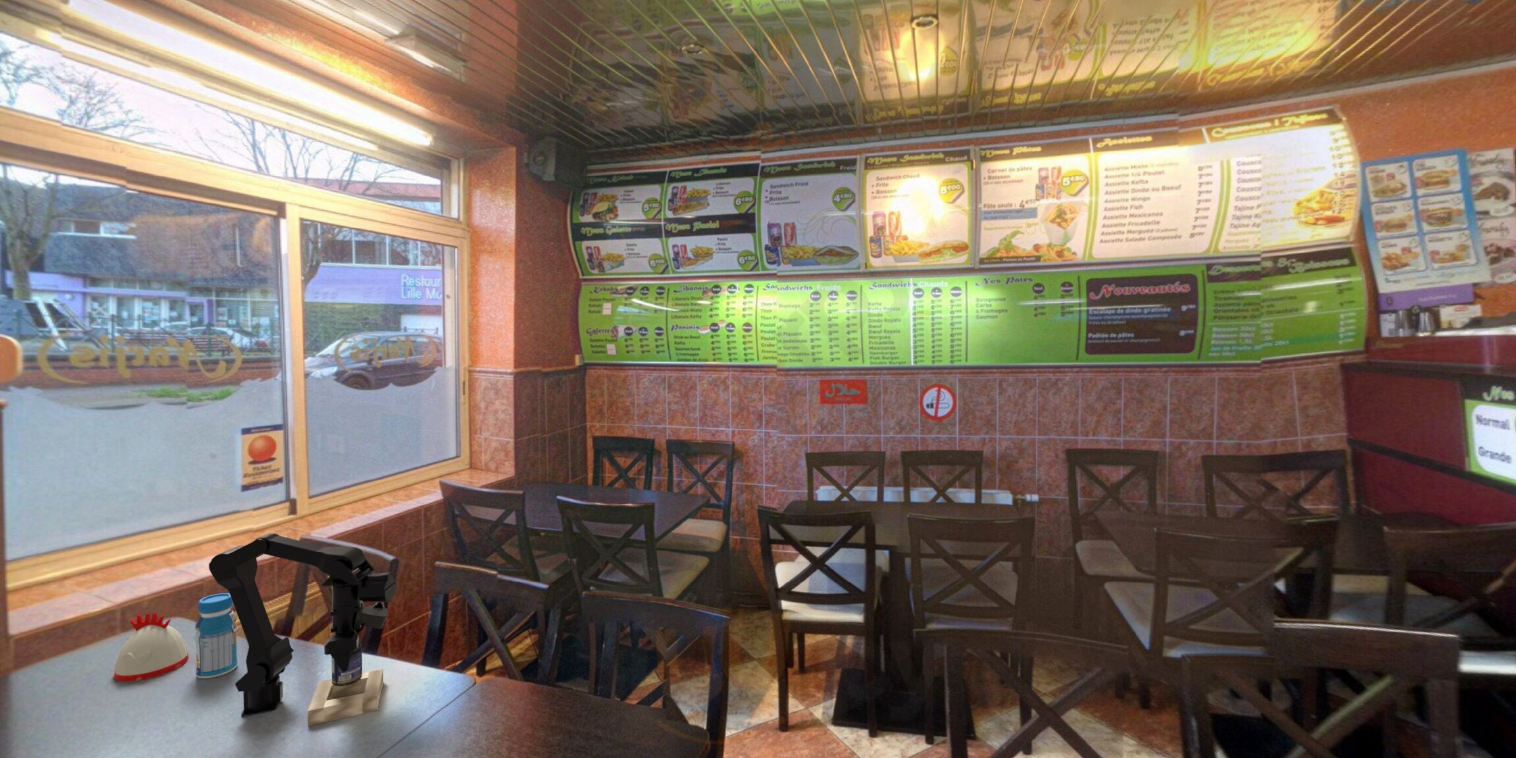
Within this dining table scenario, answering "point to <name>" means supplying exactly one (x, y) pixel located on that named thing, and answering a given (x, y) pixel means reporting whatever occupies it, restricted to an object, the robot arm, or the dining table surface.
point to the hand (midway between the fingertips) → (346, 664)
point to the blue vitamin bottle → (216, 636)
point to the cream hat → (150, 650)
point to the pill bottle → (353, 669)
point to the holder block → (345, 698)
